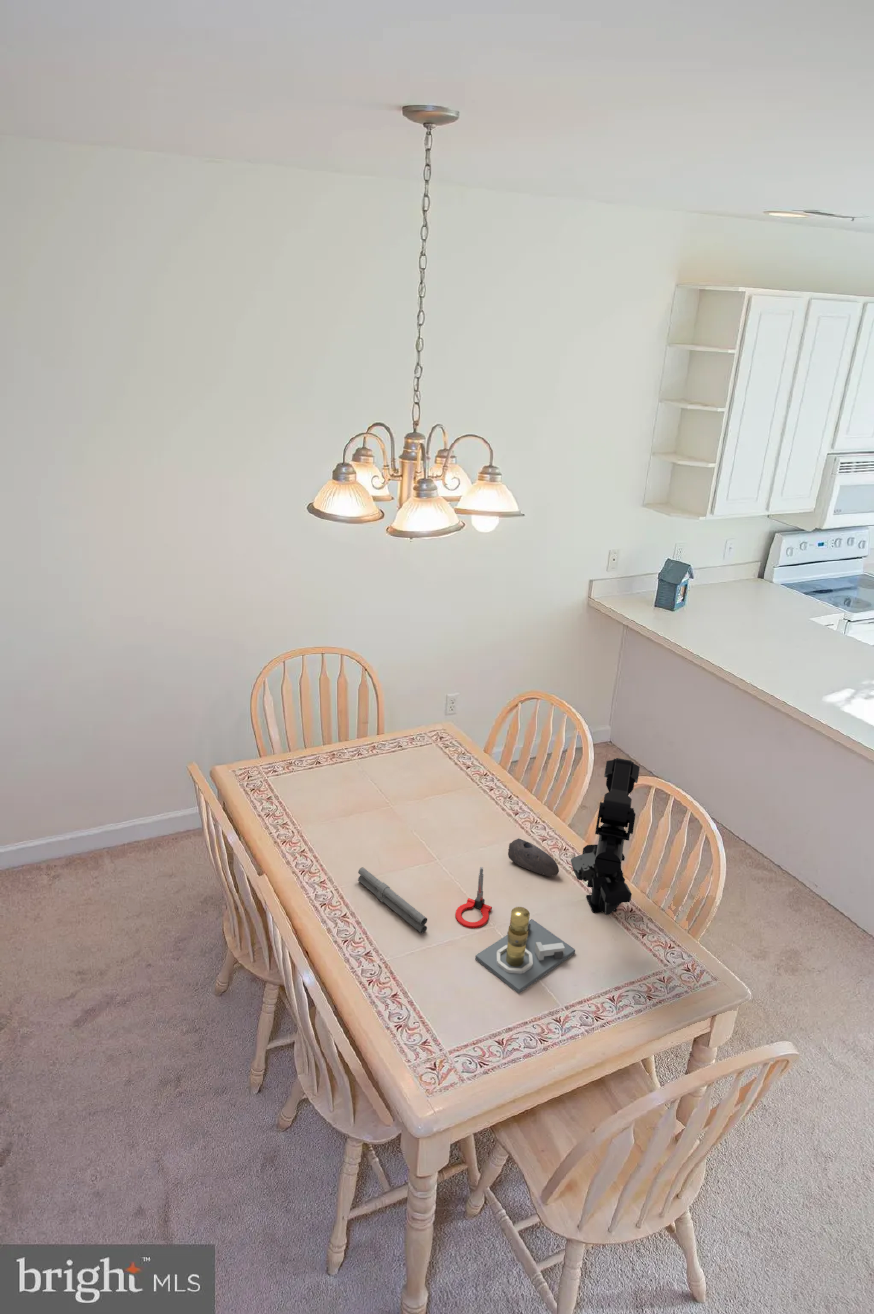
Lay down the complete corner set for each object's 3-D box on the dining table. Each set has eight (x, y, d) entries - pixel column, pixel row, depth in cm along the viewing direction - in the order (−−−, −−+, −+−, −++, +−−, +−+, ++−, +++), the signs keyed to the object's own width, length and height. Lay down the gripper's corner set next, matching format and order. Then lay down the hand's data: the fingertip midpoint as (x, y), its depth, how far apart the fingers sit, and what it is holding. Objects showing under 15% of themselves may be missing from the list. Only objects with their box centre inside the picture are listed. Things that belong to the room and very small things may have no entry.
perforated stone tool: (562, 875, 238) (564, 855, 236) (552, 885, 234) (555, 864, 232) (515, 853, 246) (517, 833, 244) (505, 862, 242) (507, 842, 240)
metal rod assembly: (427, 931, 216) (428, 915, 214) (419, 936, 214) (420, 920, 212) (364, 879, 233) (364, 863, 231) (355, 883, 231) (356, 867, 229)
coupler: (505, 950, 209) (511, 904, 203) (526, 954, 208) (532, 908, 203) (503, 965, 205) (508, 918, 199) (523, 969, 204) (530, 922, 198)
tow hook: (479, 934, 216) (495, 911, 224) (481, 893, 211) (498, 871, 218) (449, 922, 220) (466, 900, 227) (451, 882, 214) (467, 860, 222)
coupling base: (531, 922, 220) (533, 908, 219) (574, 953, 211) (576, 939, 209) (475, 959, 208) (476, 944, 206) (518, 993, 199) (520, 979, 197)
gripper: (565, 825, 210) (558, 878, 217) (588, 874, 193) (580, 930, 200) (610, 823, 212) (602, 876, 218) (636, 872, 195) (627, 927, 201)
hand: (601, 901), depth 209 cm, fingers open, 9 cm apart
